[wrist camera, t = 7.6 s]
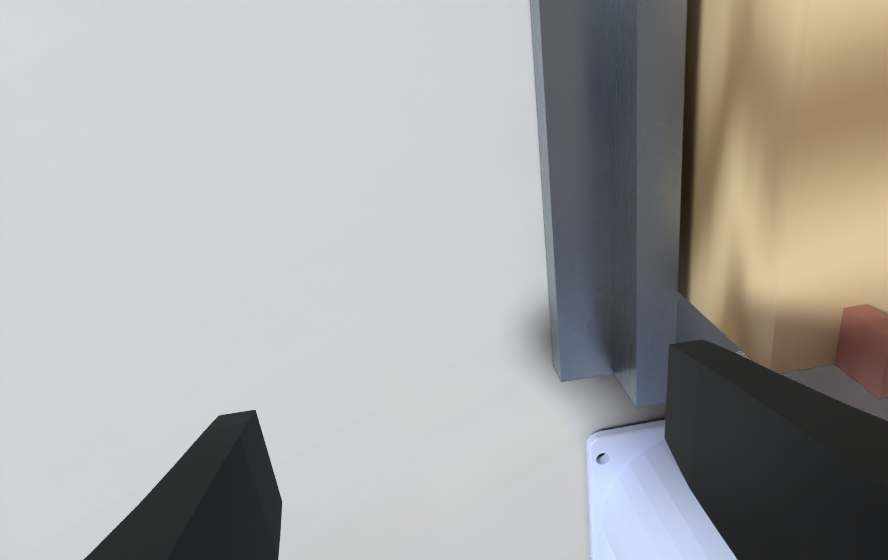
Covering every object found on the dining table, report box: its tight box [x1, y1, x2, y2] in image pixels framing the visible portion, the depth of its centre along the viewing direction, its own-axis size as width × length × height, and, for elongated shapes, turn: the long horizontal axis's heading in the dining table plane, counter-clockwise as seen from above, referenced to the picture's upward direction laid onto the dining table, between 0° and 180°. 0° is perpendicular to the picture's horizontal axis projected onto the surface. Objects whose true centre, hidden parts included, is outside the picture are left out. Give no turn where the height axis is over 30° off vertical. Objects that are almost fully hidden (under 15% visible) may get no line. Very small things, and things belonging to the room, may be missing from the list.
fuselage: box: [678, 0, 888, 399], centre depth 14 cm, size 14×4×6 cm, turn 7°
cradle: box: [530, 0, 742, 408], centre depth 17 cm, size 18×12×3 cm, turn 7°
